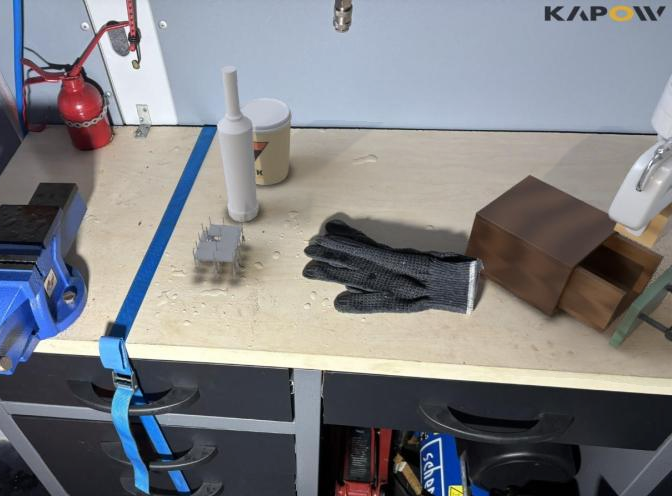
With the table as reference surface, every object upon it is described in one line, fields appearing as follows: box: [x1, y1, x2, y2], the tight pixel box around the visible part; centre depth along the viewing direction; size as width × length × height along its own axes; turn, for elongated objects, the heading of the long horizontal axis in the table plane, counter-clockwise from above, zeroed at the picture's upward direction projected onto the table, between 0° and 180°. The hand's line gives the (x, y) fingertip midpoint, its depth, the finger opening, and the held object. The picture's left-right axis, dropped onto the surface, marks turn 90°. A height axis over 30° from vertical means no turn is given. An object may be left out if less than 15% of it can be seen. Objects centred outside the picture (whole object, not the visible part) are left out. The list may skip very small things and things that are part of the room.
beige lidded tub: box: [240, 97, 293, 186], centre depth 103 cm, size 9×9×12 cm
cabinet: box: [464, 174, 620, 318], centre depth 85 cm, size 15×13×10 cm
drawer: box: [557, 232, 672, 350], centre depth 79 cm, size 18×11×8 cm, turn 40°
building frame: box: [192, 216, 246, 282], centre depth 90 cm, size 6×8×6 cm
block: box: [614, 202, 672, 249], centre depth 71 cm, size 5×5×5 cm
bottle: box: [216, 65, 260, 223], centre depth 91 cm, size 5×5×25 cm
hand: (648, 219), depth 71 cm, fingers closed on block, 4 cm apart
